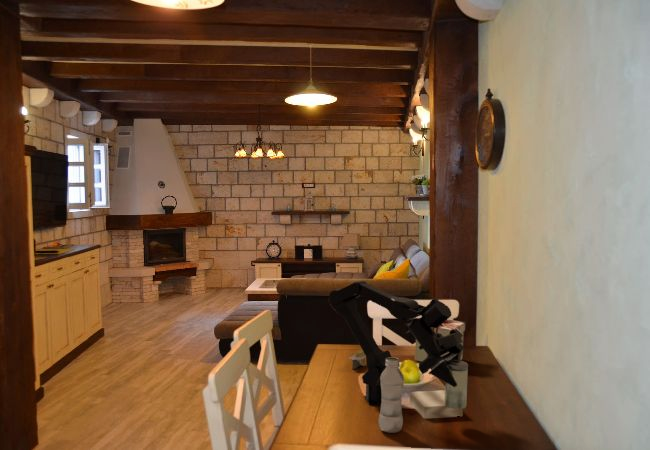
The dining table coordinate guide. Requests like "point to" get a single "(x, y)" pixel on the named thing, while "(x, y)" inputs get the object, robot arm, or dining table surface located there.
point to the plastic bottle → (391, 397)
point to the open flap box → (358, 359)
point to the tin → (458, 394)
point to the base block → (432, 404)
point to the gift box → (443, 330)
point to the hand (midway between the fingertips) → (460, 383)
